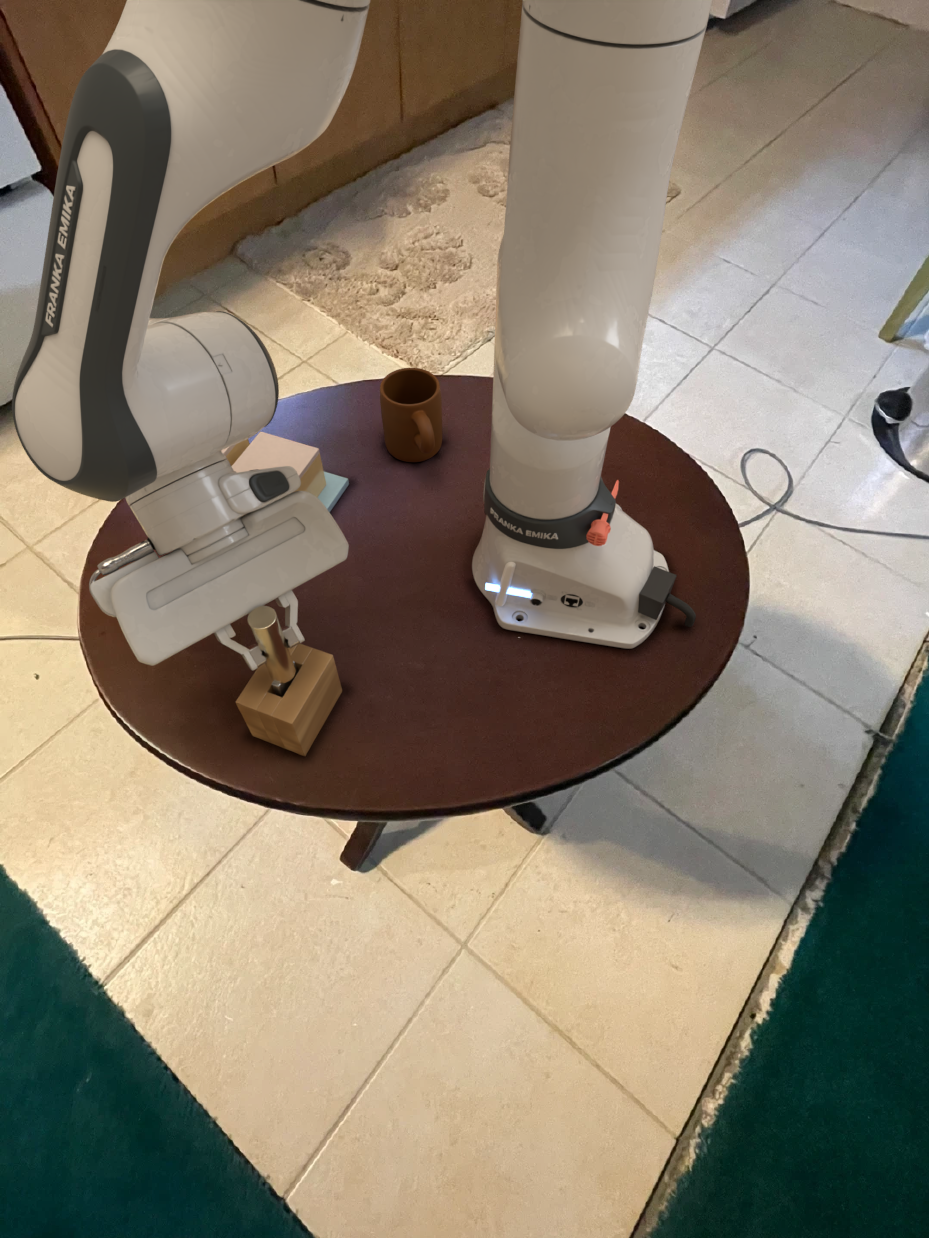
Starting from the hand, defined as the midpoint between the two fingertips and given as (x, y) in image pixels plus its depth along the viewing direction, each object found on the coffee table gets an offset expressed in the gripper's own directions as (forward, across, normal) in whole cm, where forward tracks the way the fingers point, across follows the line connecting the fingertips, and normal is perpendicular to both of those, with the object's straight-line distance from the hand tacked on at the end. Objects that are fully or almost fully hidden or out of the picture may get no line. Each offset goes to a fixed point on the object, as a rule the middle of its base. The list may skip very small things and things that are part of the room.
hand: (278, 654), depth 68 cm
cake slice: (-16, +9, +31) cm, 36 cm away
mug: (-8, +32, +26) cm, 41 cm away
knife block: (+8, 0, +9) cm, 12 cm away
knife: (+8, 0, +9) cm, 12 cm away
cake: (-12, +11, +28) cm, 33 cm away
